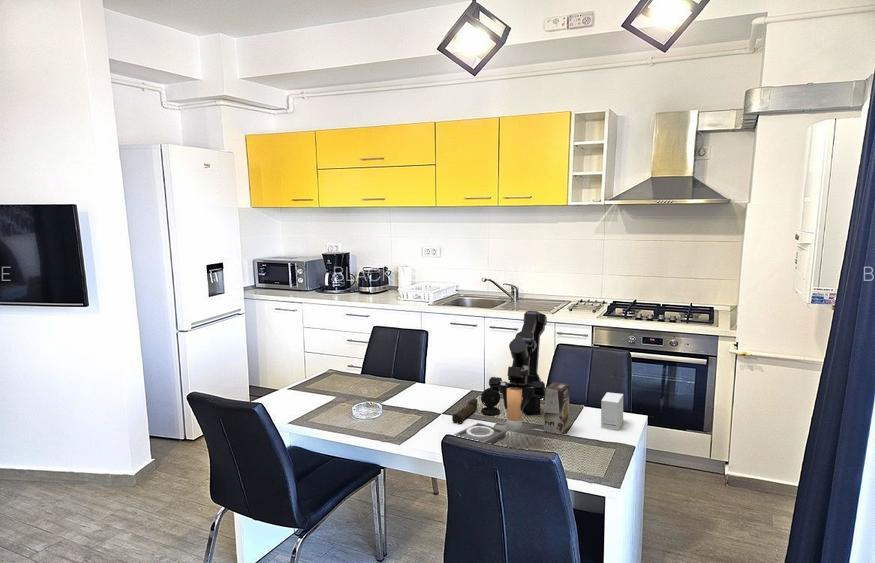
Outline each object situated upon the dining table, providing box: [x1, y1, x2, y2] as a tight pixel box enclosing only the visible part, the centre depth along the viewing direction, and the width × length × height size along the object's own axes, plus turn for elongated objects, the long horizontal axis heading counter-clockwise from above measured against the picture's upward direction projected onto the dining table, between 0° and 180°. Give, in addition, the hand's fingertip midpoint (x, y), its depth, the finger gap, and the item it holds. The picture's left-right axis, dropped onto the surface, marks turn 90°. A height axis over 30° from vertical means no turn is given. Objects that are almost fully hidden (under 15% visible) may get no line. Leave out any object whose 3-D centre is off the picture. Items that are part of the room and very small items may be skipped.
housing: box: [453, 422, 507, 445], centre depth 196 cm, size 14×12×2 cm
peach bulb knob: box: [506, 387, 523, 431], centre depth 188 cm, size 5×5×13 cm
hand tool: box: [451, 398, 478, 425], centre depth 218 cm, size 19×4×5 cm, turn 150°
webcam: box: [480, 387, 501, 417], centre depth 220 cm, size 8×8×10 cm
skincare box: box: [600, 391, 624, 431], centre depth 207 cm, size 10×6×10 cm, turn 152°
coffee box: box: [543, 381, 570, 435], centre depth 203 cm, size 9×6×16 cm
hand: (513, 409), depth 187 cm, fingers closed on peach bulb knob, 5 cm apart
